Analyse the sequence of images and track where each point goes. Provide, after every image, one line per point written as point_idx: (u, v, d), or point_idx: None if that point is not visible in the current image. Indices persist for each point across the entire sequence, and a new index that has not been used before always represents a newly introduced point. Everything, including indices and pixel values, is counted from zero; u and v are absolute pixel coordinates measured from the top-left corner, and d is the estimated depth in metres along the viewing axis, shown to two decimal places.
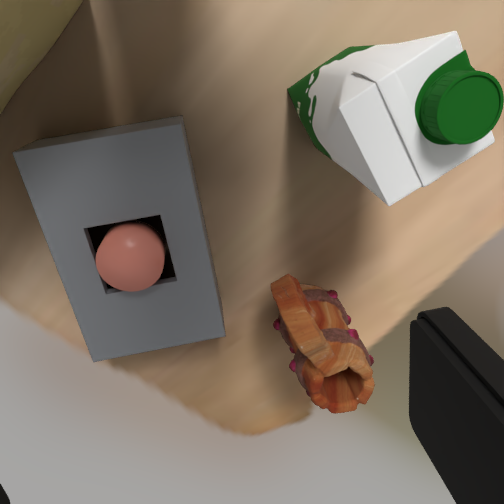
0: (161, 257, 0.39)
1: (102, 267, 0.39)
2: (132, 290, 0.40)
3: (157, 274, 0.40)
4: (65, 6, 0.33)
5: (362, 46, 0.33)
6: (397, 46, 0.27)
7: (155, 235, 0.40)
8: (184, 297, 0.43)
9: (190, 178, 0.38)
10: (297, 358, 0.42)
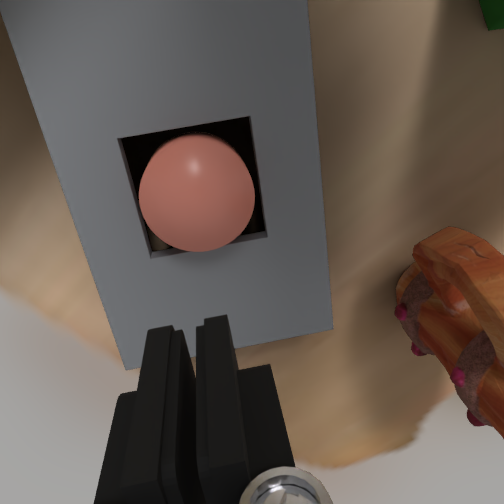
0: (252, 190, 0.22)
1: (150, 207, 0.22)
2: (198, 249, 0.24)
3: (242, 221, 0.23)
4: None
5: None
6: None
7: (238, 155, 0.23)
8: (276, 264, 0.26)
9: (308, 47, 0.21)
10: (468, 365, 0.25)
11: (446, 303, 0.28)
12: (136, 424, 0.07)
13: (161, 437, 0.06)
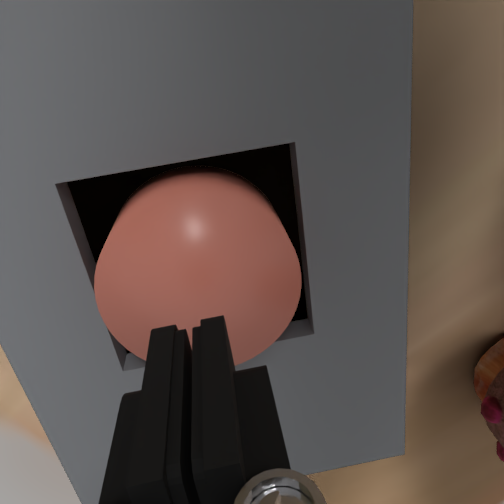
0: (297, 275, 0.13)
1: (115, 306, 0.12)
2: None
3: (278, 324, 0.13)
4: None
5: None
6: None
7: (271, 208, 0.13)
8: (325, 372, 0.16)
9: (408, 16, 0.11)
10: None
11: None
12: (141, 423, 0.07)
13: (165, 436, 0.06)
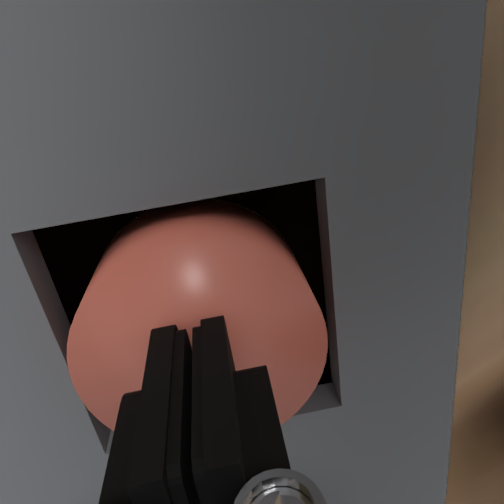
0: (322, 339, 0.10)
1: (94, 380, 0.10)
2: None
3: (297, 395, 0.11)
4: None
5: None
6: None
7: (288, 252, 0.11)
8: (354, 448, 0.13)
9: (479, 13, 0.09)
10: None
11: None
12: (140, 423, 0.07)
13: (165, 437, 0.06)
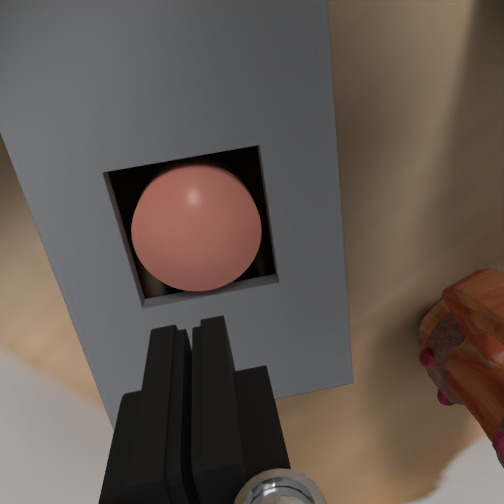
0: (258, 224, 0.20)
1: (144, 243, 0.20)
2: (198, 289, 0.21)
3: (247, 257, 0.21)
4: None
5: None
6: None
7: (243, 183, 0.21)
8: (289, 313, 0.23)
9: (328, 64, 0.18)
10: None
11: (483, 354, 0.24)
12: (141, 423, 0.07)
13: (166, 437, 0.06)
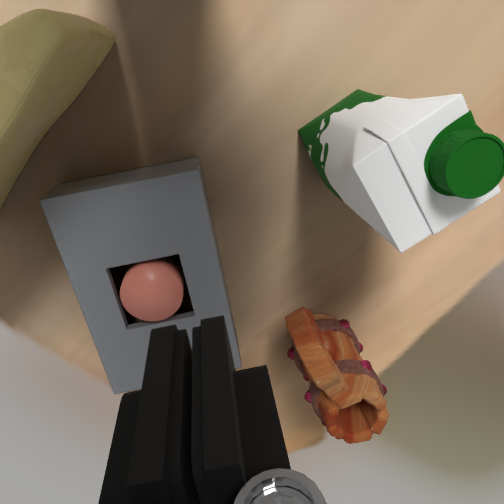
0: (181, 289, 0.42)
1: (126, 299, 0.41)
2: (153, 320, 0.43)
3: (177, 304, 0.42)
4: (97, 57, 0.35)
5: (370, 95, 0.35)
6: (405, 103, 0.29)
7: (174, 268, 0.43)
8: None
9: (207, 219, 0.40)
10: (312, 389, 0.43)
11: None
12: (141, 423, 0.07)
13: (166, 436, 0.06)
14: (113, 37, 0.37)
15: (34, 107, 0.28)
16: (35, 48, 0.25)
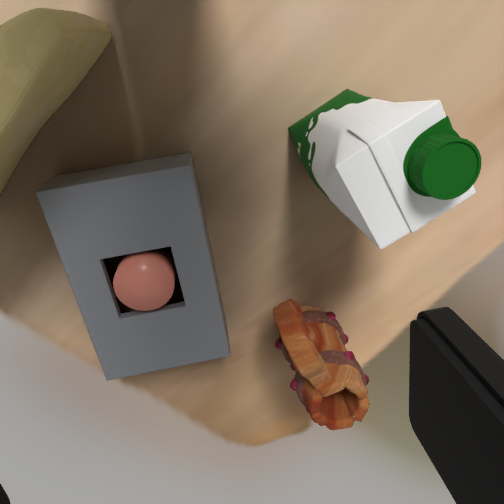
0: (172, 280, 0.43)
1: (119, 289, 0.43)
2: (145, 309, 0.44)
3: (168, 295, 0.44)
4: (95, 52, 0.35)
5: (357, 97, 0.36)
6: (388, 107, 0.30)
7: (166, 259, 0.44)
8: (192, 320, 0.46)
9: (198, 213, 0.41)
10: (297, 378, 0.45)
11: None
12: None
13: None
14: (110, 32, 0.38)
15: (33, 102, 0.29)
16: (36, 45, 0.26)
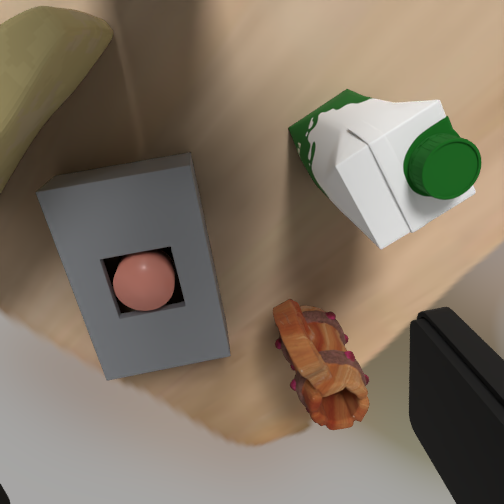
0: (172, 280, 0.43)
1: (119, 289, 0.43)
2: (145, 309, 0.44)
3: (168, 295, 0.44)
4: (96, 51, 0.35)
5: (357, 97, 0.36)
6: (388, 107, 0.30)
7: (166, 259, 0.44)
8: (192, 320, 0.46)
9: (198, 213, 0.41)
10: (297, 378, 0.45)
11: None
12: None
13: None
14: (112, 31, 0.38)
15: (35, 100, 0.29)
16: (37, 44, 0.26)
